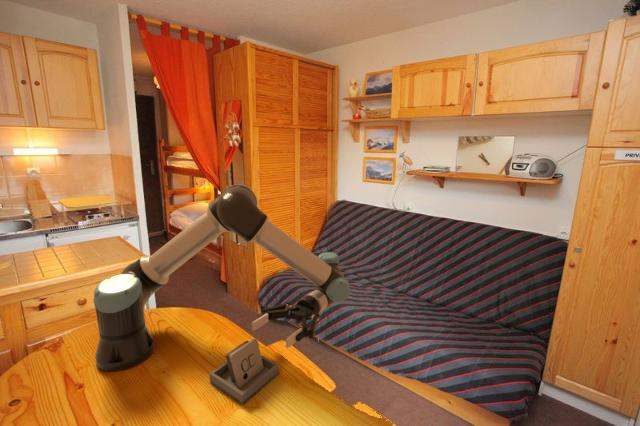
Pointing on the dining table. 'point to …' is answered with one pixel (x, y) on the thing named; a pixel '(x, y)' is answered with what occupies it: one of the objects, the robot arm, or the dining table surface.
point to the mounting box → (246, 392)
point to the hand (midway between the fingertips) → (269, 334)
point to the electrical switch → (244, 362)
